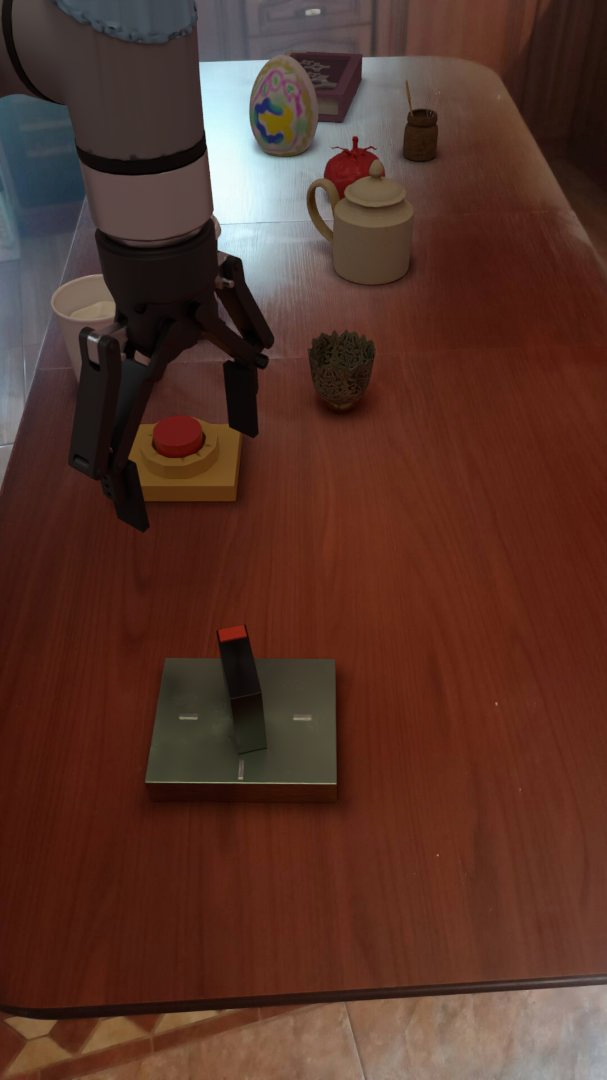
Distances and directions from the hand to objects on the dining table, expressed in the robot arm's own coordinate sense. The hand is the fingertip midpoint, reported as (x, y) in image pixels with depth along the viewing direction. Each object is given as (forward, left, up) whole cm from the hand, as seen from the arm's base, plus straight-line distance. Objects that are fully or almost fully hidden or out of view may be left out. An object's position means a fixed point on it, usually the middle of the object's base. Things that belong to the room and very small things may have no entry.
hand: (192, 474), depth 65 cm
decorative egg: (+4, +104, -14) cm, 105 cm away
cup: (+13, +27, -14) cm, 33 cm away
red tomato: (+16, +83, -14) cm, 85 cm away
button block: (-4, +16, -13) cm, 21 cm away
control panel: (+5, -16, -13) cm, 22 cm away
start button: (-4, +16, -10) cm, 19 cm away
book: (+9, +130, -14) cm, 131 cm away
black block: (+5, -16, -10) cm, 20 cm away
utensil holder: (+28, +100, -14) cm, 104 cm away
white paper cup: (-14, +31, -14) cm, 36 cm away
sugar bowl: (+16, +60, -14) cm, 63 cm away
